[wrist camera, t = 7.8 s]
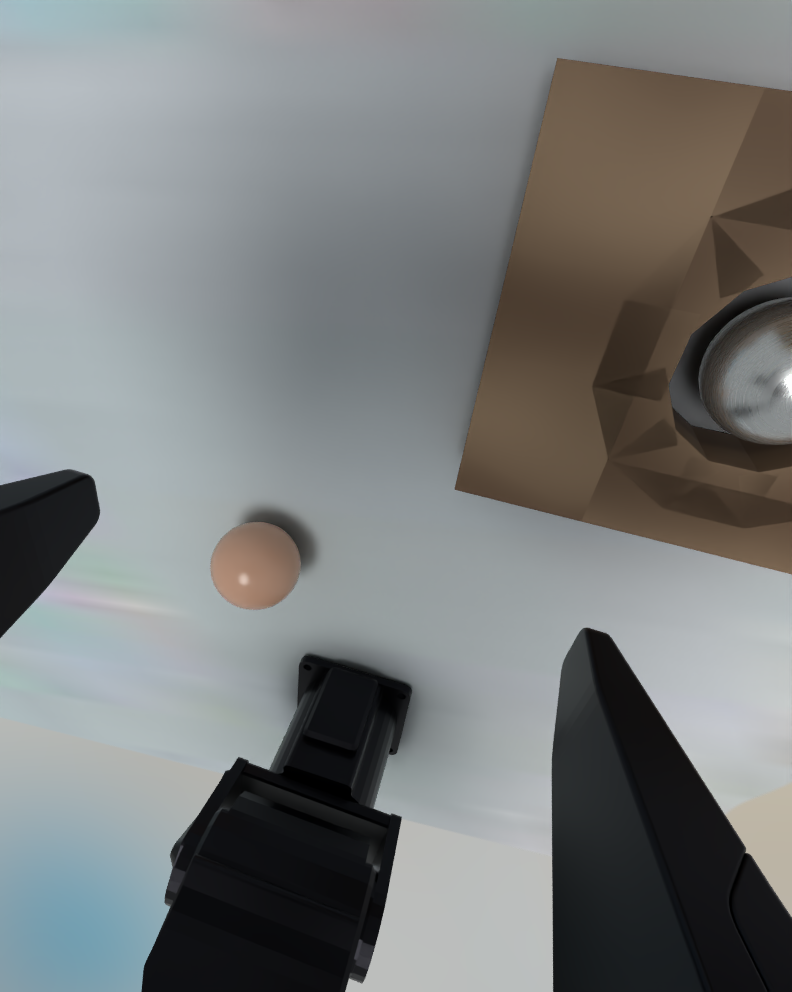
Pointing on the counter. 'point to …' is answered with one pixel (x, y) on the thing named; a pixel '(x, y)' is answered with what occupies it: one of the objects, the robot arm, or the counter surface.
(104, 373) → the counter surface
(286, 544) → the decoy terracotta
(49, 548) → the robot arm
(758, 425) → the steel ball
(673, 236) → the brown recessed board
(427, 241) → the counter surface
